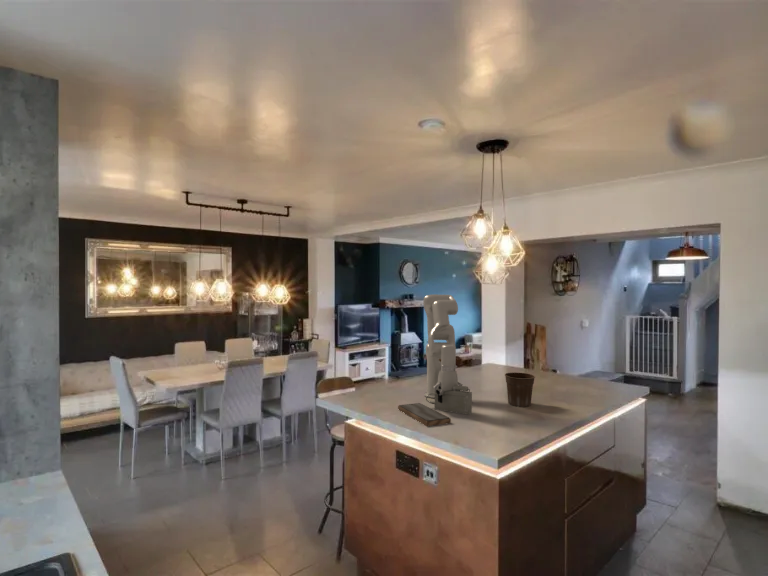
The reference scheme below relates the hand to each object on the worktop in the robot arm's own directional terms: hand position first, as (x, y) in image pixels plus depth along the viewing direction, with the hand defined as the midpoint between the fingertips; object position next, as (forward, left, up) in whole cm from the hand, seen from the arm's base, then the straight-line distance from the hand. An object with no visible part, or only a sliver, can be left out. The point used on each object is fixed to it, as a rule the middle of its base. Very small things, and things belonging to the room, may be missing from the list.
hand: (447, 401), depth 229 cm
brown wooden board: (+17, +4, -5) cm, 18 cm away
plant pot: (-44, +4, -5) cm, 44 cm away
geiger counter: (0, 0, -5) cm, 5 cm away
